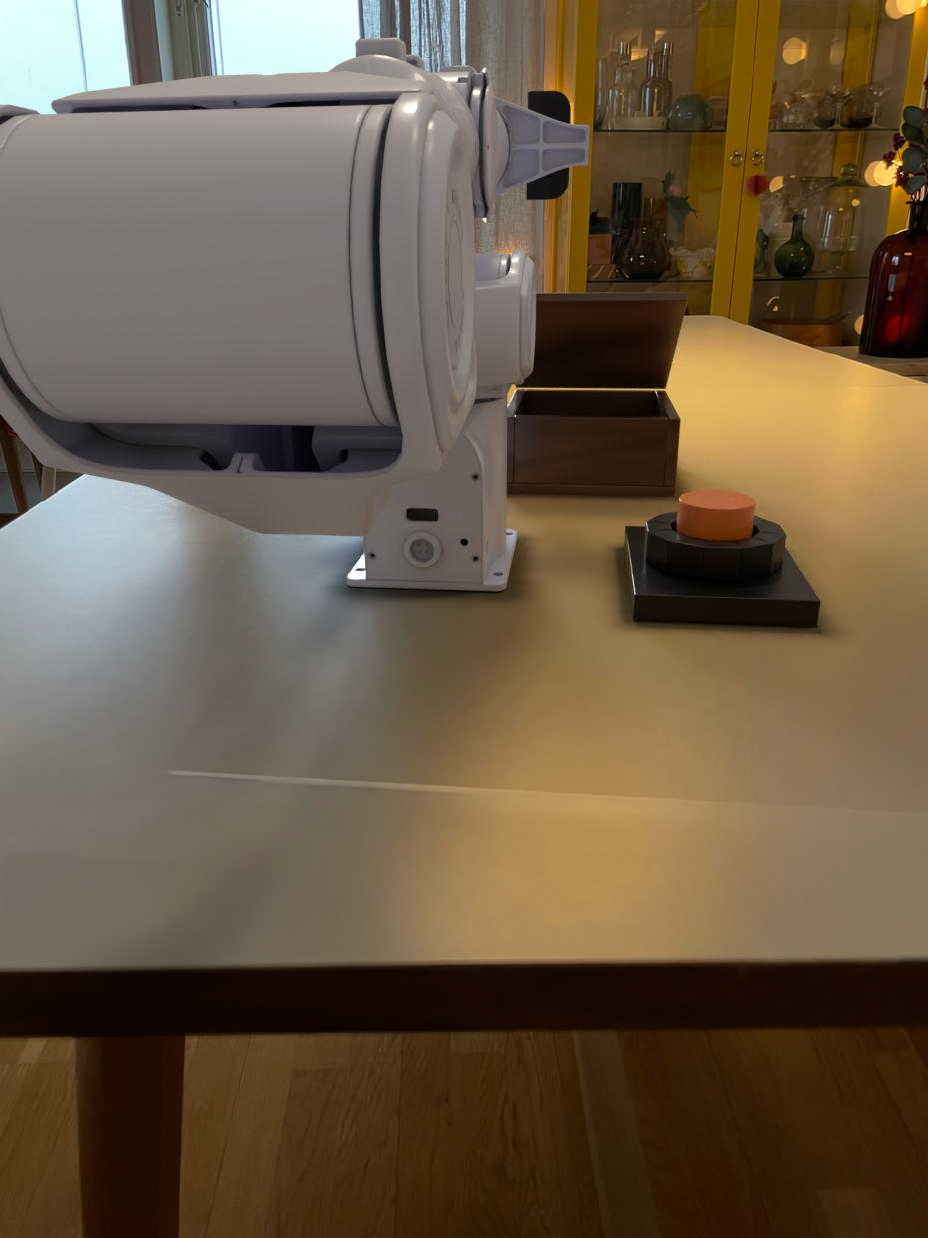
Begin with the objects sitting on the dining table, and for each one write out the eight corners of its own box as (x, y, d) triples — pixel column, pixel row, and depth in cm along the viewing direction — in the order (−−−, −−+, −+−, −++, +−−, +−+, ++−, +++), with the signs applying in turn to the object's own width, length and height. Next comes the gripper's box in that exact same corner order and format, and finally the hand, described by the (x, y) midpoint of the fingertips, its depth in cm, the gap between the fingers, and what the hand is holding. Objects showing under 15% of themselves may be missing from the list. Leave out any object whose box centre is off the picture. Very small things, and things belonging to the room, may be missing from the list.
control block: (816, 630, 41) (826, 565, 40) (632, 623, 42) (636, 560, 41) (771, 553, 51) (777, 500, 50) (623, 549, 52) (626, 497, 51)
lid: (688, 300, 59) (688, 291, 59) (504, 300, 60) (505, 292, 60) (665, 389, 72) (666, 381, 72) (515, 388, 73) (515, 380, 73)
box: (674, 498, 63) (680, 418, 61) (502, 494, 64) (502, 416, 62) (660, 458, 74) (665, 390, 72) (514, 455, 75) (515, 388, 74)
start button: (757, 545, 44) (761, 509, 43) (679, 543, 44) (682, 507, 44) (745, 524, 47) (749, 490, 46) (673, 522, 48) (675, 489, 47)
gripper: (592, 53, 46) (591, 72, 58) (304, 63, 47) (362, 79, 60) (586, 210, 49) (587, 197, 61) (317, 214, 51) (369, 200, 63)
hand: (476, 147), depth 61 cm, fingers open, 7 cm apart
